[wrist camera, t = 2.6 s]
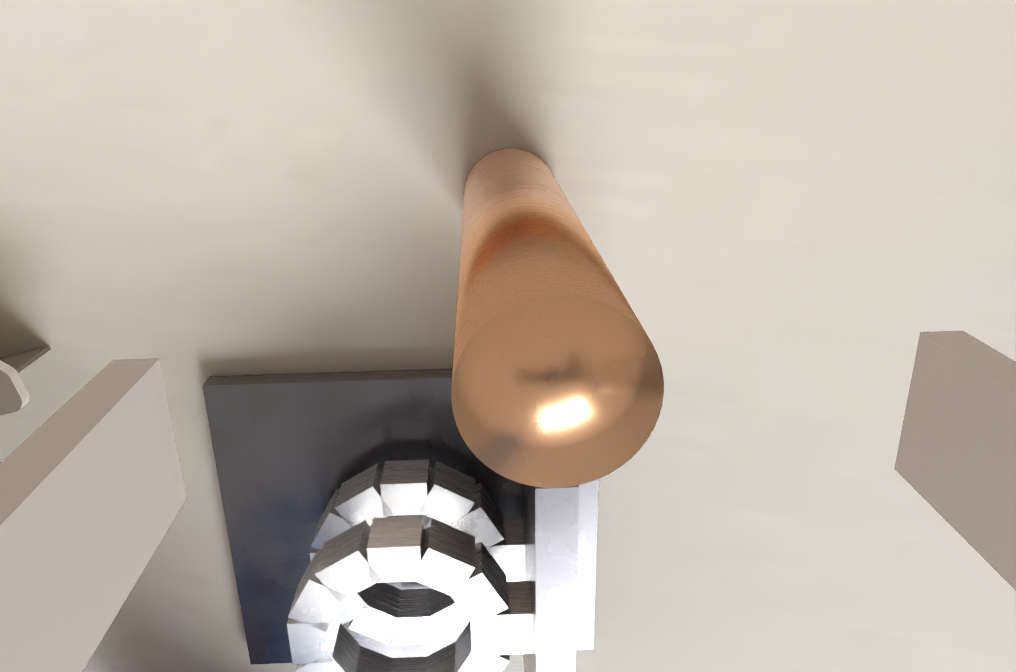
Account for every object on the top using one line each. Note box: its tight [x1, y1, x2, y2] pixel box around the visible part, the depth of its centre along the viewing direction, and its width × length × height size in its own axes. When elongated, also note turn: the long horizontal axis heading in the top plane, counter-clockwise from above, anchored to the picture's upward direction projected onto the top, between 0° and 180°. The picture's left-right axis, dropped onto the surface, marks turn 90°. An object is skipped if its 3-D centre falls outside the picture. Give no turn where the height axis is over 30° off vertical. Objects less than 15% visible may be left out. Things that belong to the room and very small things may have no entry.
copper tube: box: [451, 148, 664, 488], centre depth 24 cm, size 4×4×20 cm
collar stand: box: [203, 369, 599, 672], centre depth 34 cm, size 18×16×10 cm
